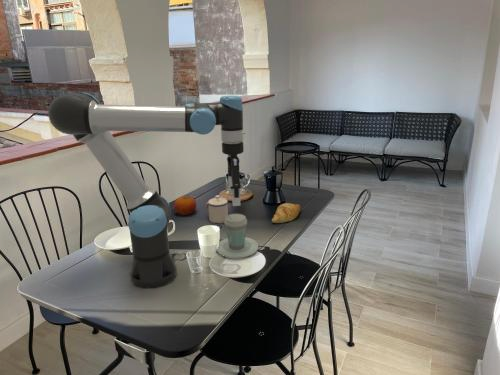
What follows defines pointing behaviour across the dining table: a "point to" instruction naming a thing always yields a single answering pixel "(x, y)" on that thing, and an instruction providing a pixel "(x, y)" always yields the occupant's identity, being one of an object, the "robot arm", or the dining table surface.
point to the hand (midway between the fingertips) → (234, 198)
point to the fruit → (185, 205)
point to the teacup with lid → (217, 209)
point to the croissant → (286, 212)
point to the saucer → (248, 250)
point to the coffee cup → (236, 230)
